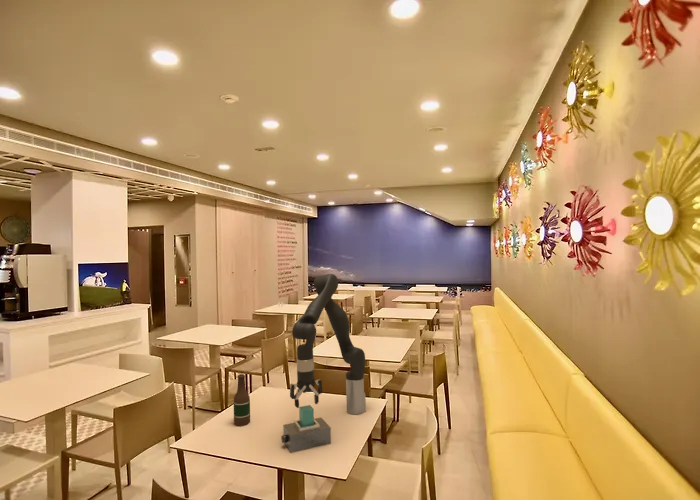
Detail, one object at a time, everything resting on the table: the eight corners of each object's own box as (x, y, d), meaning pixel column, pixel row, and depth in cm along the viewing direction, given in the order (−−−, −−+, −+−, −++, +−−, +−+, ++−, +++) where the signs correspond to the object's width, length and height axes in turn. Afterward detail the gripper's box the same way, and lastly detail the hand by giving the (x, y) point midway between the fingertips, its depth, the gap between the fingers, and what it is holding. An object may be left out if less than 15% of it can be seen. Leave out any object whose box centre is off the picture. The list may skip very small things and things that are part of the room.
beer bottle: (241, 428, 188) (240, 378, 189) (230, 425, 193) (229, 375, 193) (253, 422, 195) (252, 373, 196) (242, 419, 199) (241, 371, 200)
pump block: (310, 422, 176) (310, 404, 176) (313, 427, 172) (313, 408, 172) (299, 425, 174) (299, 406, 174) (302, 429, 170) (302, 410, 170)
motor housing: (321, 432, 182) (321, 414, 182) (330, 443, 171) (330, 424, 171) (279, 441, 174) (278, 422, 174) (285, 453, 163) (285, 433, 163)
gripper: (318, 364, 179) (319, 399, 179) (287, 368, 174) (288, 405, 174) (323, 368, 173) (324, 405, 172) (292, 373, 167) (293, 411, 167)
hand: (306, 405), depth 173 cm, fingers open, 8 cm apart
